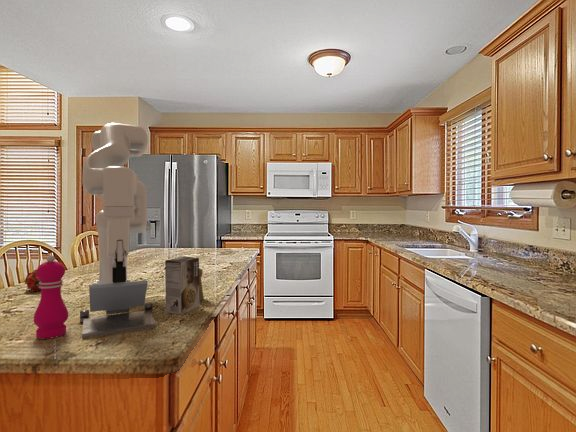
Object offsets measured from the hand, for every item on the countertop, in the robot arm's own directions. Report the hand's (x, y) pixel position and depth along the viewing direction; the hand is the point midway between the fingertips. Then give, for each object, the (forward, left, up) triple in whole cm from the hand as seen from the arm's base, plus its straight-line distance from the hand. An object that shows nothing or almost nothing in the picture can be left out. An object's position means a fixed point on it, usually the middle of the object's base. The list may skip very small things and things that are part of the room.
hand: (119, 281), depth 94 cm
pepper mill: (-12, -10, -12) cm, 20 cm away
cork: (+4, +31, -12) cm, 34 cm away
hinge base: (-2, +2, -12) cm, 12 cm away
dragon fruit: (-62, +26, -12) cm, 68 cm away
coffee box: (+7, +19, -12) cm, 24 cm away
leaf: (-3, +3, -6) cm, 8 cm away
